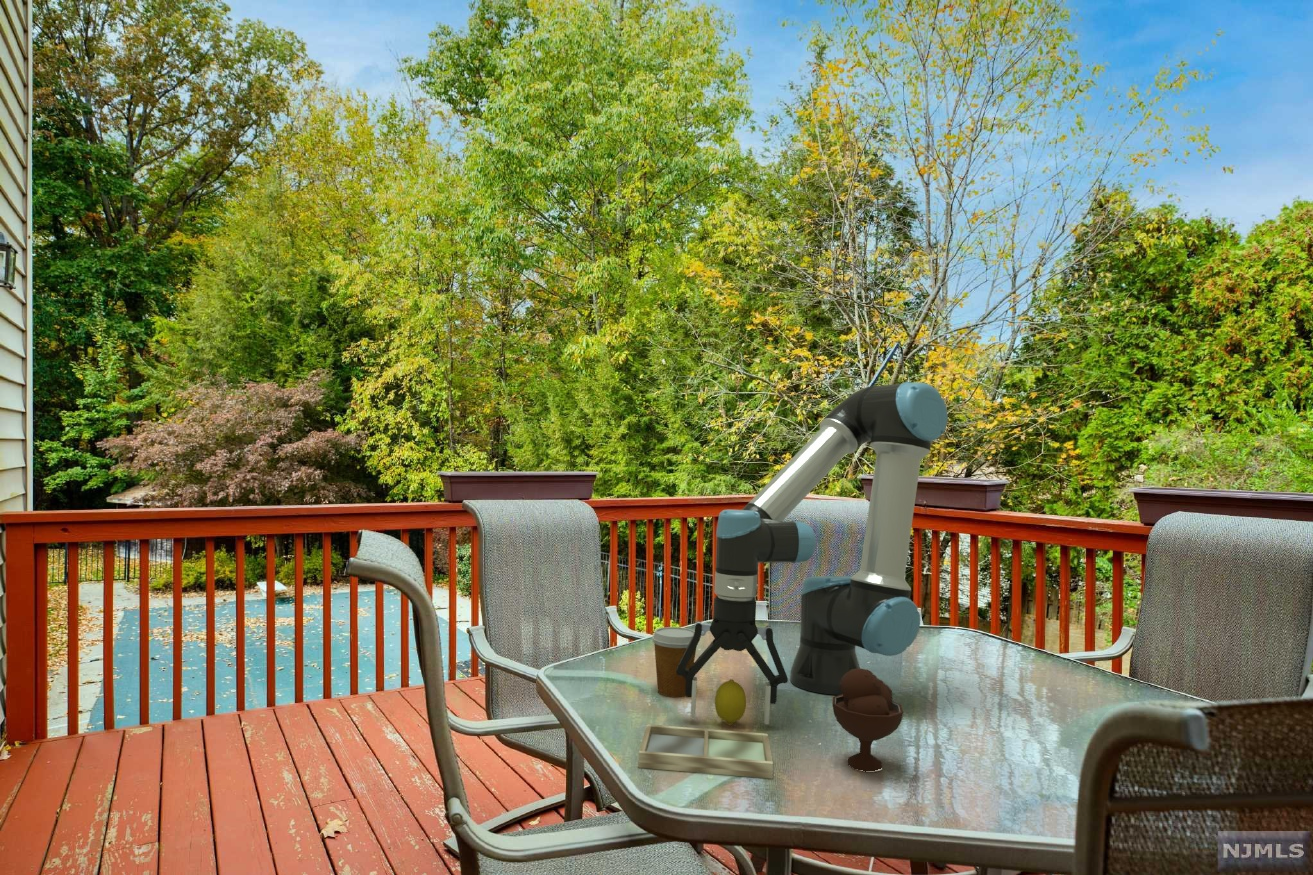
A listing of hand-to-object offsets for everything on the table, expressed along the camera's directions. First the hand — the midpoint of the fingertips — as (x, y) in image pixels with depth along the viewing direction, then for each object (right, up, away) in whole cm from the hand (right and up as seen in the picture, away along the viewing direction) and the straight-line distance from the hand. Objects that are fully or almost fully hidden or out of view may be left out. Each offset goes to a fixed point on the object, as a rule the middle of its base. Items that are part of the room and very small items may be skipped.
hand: (729, 718), depth 130 cm
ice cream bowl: (+20, -2, -15) cm, 25 cm away
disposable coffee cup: (-10, -1, +17) cm, 19 cm away
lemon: (0, -1, 0) cm, 1 cm away
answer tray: (-5, 0, -15) cm, 16 cm away
